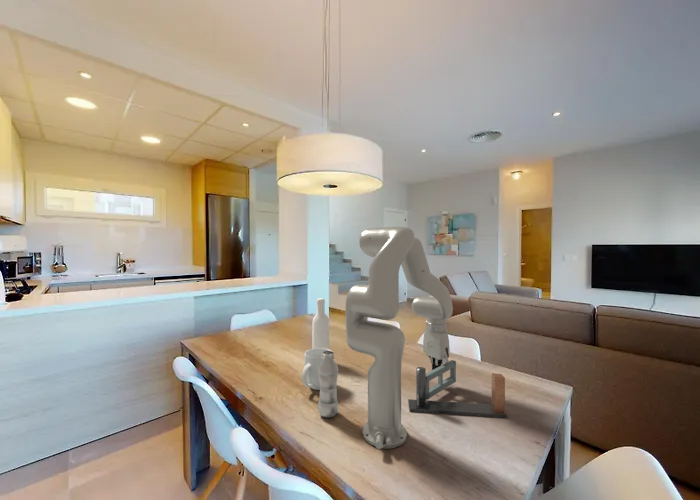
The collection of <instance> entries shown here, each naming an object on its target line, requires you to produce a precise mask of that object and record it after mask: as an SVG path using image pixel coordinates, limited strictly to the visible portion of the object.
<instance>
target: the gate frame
mask: <svg viewBox="0 0 700 500" xmlns="http://www.w3.org/2000/svg"><path fill="white" fill-rule="evenodd" d="M415 369H416V370H415V371H416V374H415V375H416V378H415V379H416V384H415V385H416V387H415V388H416V389H415V390H416V393H415V396H416V397H415V398H416V399H410V398H409V399H407V401H408V409H409V412H410V413H411V412H412V413H424V414H425V413H426V414H441V415H457V416H469V417H470V416H472V417H486V418H487V417H488V418H499V419H500V418H502V419H503V418H504V419H507V418H508V415H507V413H506V377H505V376H504V375H503V374H502V373H491V404H489V403H479V402H478V403H477V402H476V403H475V402H462V401H461V402H457V401H443V400H441V401H440V400H429V399H428V400H426V373H427V371H426V368H425V367H424V366H423V367H422V366H418V367H416V368H415Z"/></svg>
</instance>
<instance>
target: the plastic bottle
mask: <svg viewBox="0 0 700 500" xmlns="http://www.w3.org/2000/svg"><path fill="white" fill-rule="evenodd" d="M322 359H323V361H322V362H321V364H320V365H319V368H318V373H319V380H320V390H319V397H318V398H319V399H318V403H317V409H318V414H319V415H320V416H321V417H323V418H333V417H335V416H336V415H337V414H338V412H339V402H338V400H339V399H338V393H337V385H338V377H339V367H338V364H337V363H336V361H335V352H334V351H333V350H331V351H324V352H323V353H322Z"/></svg>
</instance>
